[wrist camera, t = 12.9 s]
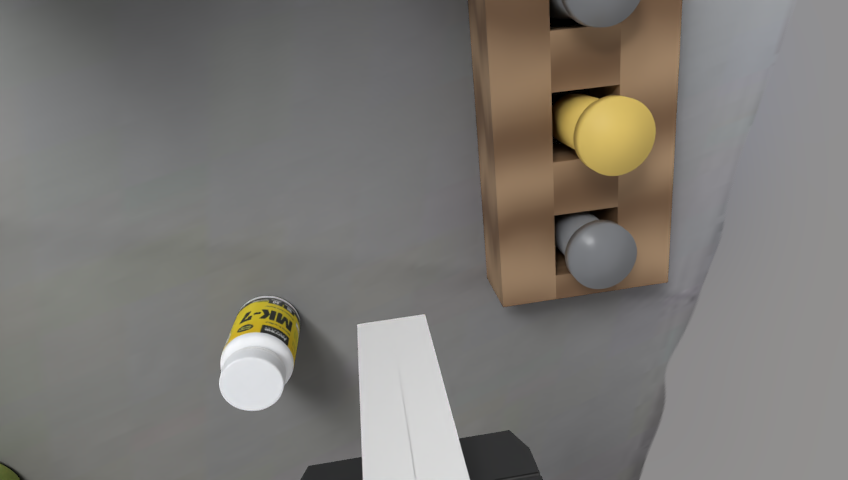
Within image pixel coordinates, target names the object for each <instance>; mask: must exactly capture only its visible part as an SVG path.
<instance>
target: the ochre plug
mask: <svg viewBox="0 0 848 480" xmlns="http://www.w3.org/2000/svg"><path fill="white" fill-rule="evenodd" d="M552 135H553V136H554V137H555V139H557V140H558V141H560V142H562V143H563V144H565V145H567V146H569V147H571V148H573V149H574V150H575V151H576V154H577V156H578V157H579V159H580V160H581V161H582V162H583V163H584V164H585V165H586V166H587V167H589V168H590V169H592V170H594V171H596V172H597V173H600V174H602V175H606V176H619V175H623V174H626V173H628V172H631V171H632V170H634V169H636V168H637V167H638V166H639V165H641V164H642V163H643V162H644V160H645V159H646V158H647V157H648V155H649V153H650V152H651V149H652V147H653V144H654V141H655V135H656V127H655V122H654V118H653V116H652V114H651V112H650V111H649V109H648V108H647V107H646V106H645V105H644V104H643V103H641V102H640V101H638V100H635V99H633V98H629V97H625V96H621V95H610V96H605V97H602V98H600V99H599V98H595V97H592V96H588V95H585V94H582V93H569V94H566V95H564V96H562V97H561V98H559V99H558V100H557V101H556V102H555V103H554V105H553V106H552Z"/></svg>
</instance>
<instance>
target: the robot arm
mask: <svg viewBox="0 0 848 480" xmlns="http://www.w3.org/2000/svg"><path fill="white" fill-rule="evenodd" d="M357 333H358V360H359V388H360V415H361V442H362V457H359V458H353V459H347V460H341V461H336V462H330V463H324V464H318V465H312V466H309V467H308V468H307V470H306V472H305V473H304V475H303V477H302V478H301V480H543V479H542V477H541V476H540V473H539V470H538V467H537V465H536V463H535V460H534V458H533V456H532V453H531V451H530V449H529V447H527V446H526V445H525V444H524V443H523V442H522V441H521V440H520V439H518V438H517V437H516V436H515V435H514V434H513V433H512V432H511V431H509V430H508V431H502V432H496V433H490V434H484V435H478V436H472V437H466V438H460V439H459V438H458V434H457V431H456V427H455V423H454V420H453V416H452V412H451V408H450V405H449V401H448V397H447V394H446V390H445V386H444V383H443V379H442V375H441V372H440V368H439V364H438V361H437V357H436V353H435V350H434V346H433V342H432V339H431V335H430V331H429V327H428V324H427V320H426V316H425V314H423V315H416V316H410V317H403V318H396V319H390V320H383V321H376V322H370V323H363V324H357Z"/></svg>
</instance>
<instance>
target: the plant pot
mask: <svg viewBox="0 0 848 480" xmlns="http://www.w3.org/2000/svg"><path fill="white" fill-rule="evenodd" d="M0 480H20V479H19V477H18V476H17V475H16V474H15V473H14V472H13V471H12V470H10V469H9V468H7V467H6V466H4V465H2V464H0Z"/></svg>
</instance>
